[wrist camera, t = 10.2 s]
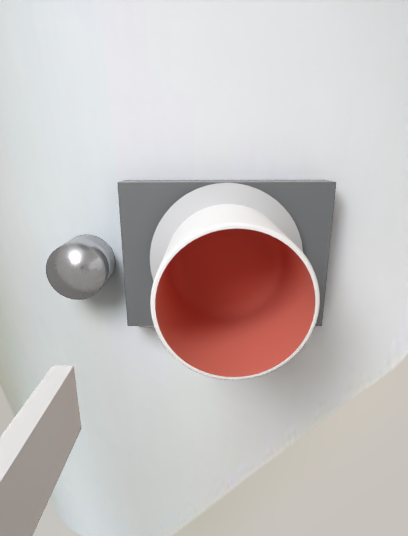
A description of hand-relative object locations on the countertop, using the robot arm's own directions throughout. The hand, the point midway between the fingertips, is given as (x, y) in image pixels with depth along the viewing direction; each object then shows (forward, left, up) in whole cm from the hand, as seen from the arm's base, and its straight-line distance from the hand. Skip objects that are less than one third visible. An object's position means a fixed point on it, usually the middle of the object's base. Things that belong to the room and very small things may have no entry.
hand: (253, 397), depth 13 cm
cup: (0, 0, -19) cm, 19 cm away
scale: (0, 0, -22) cm, 22 cm away
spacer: (+1, -13, -23) cm, 26 cm away
